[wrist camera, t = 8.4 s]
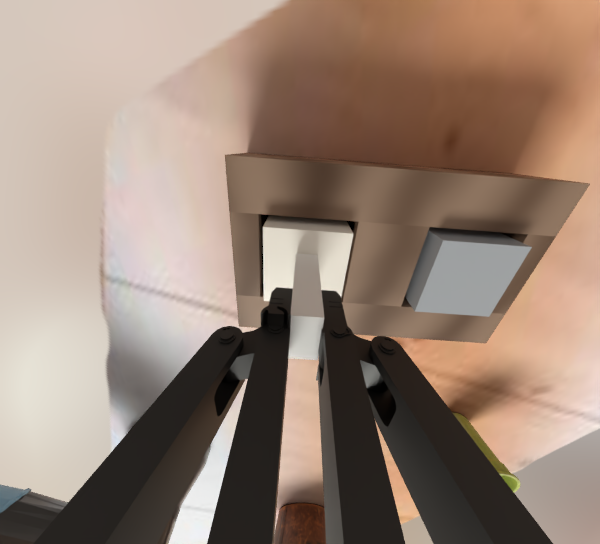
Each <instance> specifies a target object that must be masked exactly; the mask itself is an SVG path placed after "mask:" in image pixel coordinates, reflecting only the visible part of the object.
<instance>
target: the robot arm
mask: <svg viewBox="0 0 600 544" xmlns="http://www.w3.org/2000/svg"><path fill="white" fill-rule="evenodd" d="M318 355H319V365H318V372H317V378H316V380H318V385H319V406H320V426H321V447H322V467H323V488H324V509H325V529H326V544H405V541H404V537H403V532H402V529H401V524H400V520H399V516H398V512H397V508H396V504H395V500H394V496H393V492H392V488H391V484H390V480H389V476H388V472H387V468H386V464H385V460H384V456H383V452H382V448H381V444H380V440H379V436H378V432H377V428H376V423H377V425H378V427H379V429H380V431H381V433H382V435H383V437H384V440H385V442H386V444H387V446H388V448H389V450H390V452H391V454H392V456H393V459H394V461H395V463H396V465H397V467H398V469H399V471H400V473H401V476H402V478H403V480H404V482H405V484H406V486H407V488H408V490H409V492H410V495H411V497H412V499H413V501H414V503H415V505H416V507H417V509H418V512H419V514H420V516H421V518H422V520H423V522H424V524H425V526H426V528H427V531H428V533H429V535H430V537H431V539H432V541H433V543H434V544H553V543H552V542H551V541H550V539H549V538H548V537H547V535H546V534H545V533H544V531H543V530H542V529H541V527H540V526H539V525H538V524H537V522H536V521H535V520H534V518H533V517H532V516H531V514H530V513H529V512H528V511H527V509H526V508H525V507H524V505H523V504H522V503H521V501H520V500H519V499H518V498H517V496H516V495H515V494H514V492H513V491H512V490H511V488H510V487H509V486H508V485H507V483H506V482H505V481H504V479H503V478H502V477H501V475H500V474H499V473H498V472H497V470H496V469H495V468H494V466H493V465H492V464H491V462H490V461H489V460H488V459H487V457H486V456H485V455H484V453H483V452H482V451H481V449H480V448H479V447H478V446H477V444H476V443H475V442H474V440H473V439H472V438H471V436H470V435H469V434H468V433H467V431H466V430H465V429H464V427H463V426H462V425H461V423H460V422H459V421H458V420H457V418H456V417H455V416H454V414H453V413H452V412H451V410H450V409H449V408H448V407H447V405H446V404H445V403H444V401H443V400H442V399H441V397H440V396H439V395H438V394H437V392H436V391H435V390H434V388H433V387H432V386H431V384H430V383H429V382H428V381H427V379H426V378H425V377H424V375H423V374H422V373H421V371H420V370H419V369H418V368H417V366H416V365H415V364H414V362H413V361H412V360H411V358H410V357H409V356H408V355H407V353H406V352H405V351H404V349H403V348H402V347H401V345H400V344H398V343H397V342H396V341H395V340H393V339H391V338H389V337H386V336H377V337H374V339H373V340H372V341H368V340H365V339H362V338H360V337H357V336H356V335H354V334H353V332H352V330H351V329H350V328H349V327H348V326H347V322H346V318H345V313H344V309H343V305H342V300H341V296H340V295H339V294H338V293H337V292H336V291H329V290H321V281H320V272H319V262H318V255H313V254H299V253H296V261H295V271H294V282H293V288H279V287H276V288H275V289H274V290H273V291H272V293H271V297H270V301H269V305H268V306H267V307H265V308H264V309H263V310H262V311H261V327H260V328H258V329H256V330H254V331H250V332H244V333H242V331H241V330H240V329H239V328H236V327H232V326H227V327H222V328H220V329H218V330H216V331H215V332H214V333H213V334H212V335H211V336H210V337H209V339H208V340H207V341H206V342H205V343H204V344H203V346H202V347H201V348H200V349H199V350H198V352H197V353H196V354H195V355H194V356H193V357H192V359H191V360H190V361H189V362H188V363H187V364H186V366H185V367H184V368H183V369H182V370H181V371H180V373H179V374H178V375H177V376H176V377H175V378H174V380H173V381H172V382H171V383H170V384H169V385H168V387H167V388H166V389H165V390H164V391H163V392H162V394H161V395H160V396H159V397H158V398H157V400H156V401H155V402H154V403H153V404H152V405H151V407H150V408H149V409H148V410H147V411H146V412H145V414H144V415H143V416H142V417H141V418H140V419H139V421H138V422H137V423H136V424H135V425H134V426H133V428H132V429H131V430H130V431H129V432H128V433H127V435H126V436H125V437H124V438H123V439H122V440H121V442H120V443H119V444H118V445H117V446H116V447H115V449H114V450H113V451H112V452H111V453H110V455H109V456H108V457H107V458H106V459H105V460H104V462H103V463H102V464H101V465H100V466H99V468H98V469H97V470H96V471H95V472H94V473H93V474H92V476H91V477H90V478H89V479H88V480H87V481H86V483H85V484H84V485H83V486H82V487H81V488H80V490H79V491H78V492H77V493H76V494H75V496H74V497H73V498H72V499H71V500H70V501H69V503H68V502H65V501H61V500H58V499H54V498H51V497H48V496H44V495H41V494H37V493H33V492H30V491H31V489H29V488H28V489H25V490H23V489H18V488H13V487H9V486H4V485H0V544H168V543H169V540H170V537H171V534H172V531H173V528H174V525H175V522H176V519H177V516H178V514H179V511H180V508H181V505H182V503H183V501H184V499H185V498H186V496H187V495H188V493H189V491H190V490H191V488H192V486H193V485H194V483H195V481H196V480H197V478H198V476H199V475H200V473H201V471H202V470H203V468H204V466H205V464H206V461H207V458H208V455H209V452H210V444H211V442H212V440H213V438H214V437H215V435H216V433H217V431H218V429H219V427H220V426H221V424H222V422H223V420H224V418H225V416H226V414H227V413H228V411H229V409H230V407H231V405H232V403H233V401H234V400H235V398H236V396H237V394H238V392H239V390H240V388H241V387H242V385H243V383H244V381H245V379H248V381H247V385H246V389H245V393H244V397H243V401H242V405H241V409H240V413H239V417H238V422H237V426H236V430H235V434H234V438H233V442H232V446H231V450H230V454H229V458H228V462H227V466H226V470H225V474H224V478H223V482H222V486H221V490H220V494H219V498H218V502H217V506H216V510H215V514H214V518H213V522H212V527H211V531H210V535H209V539H208V543H207V544H273V543H274V531H275V518H276V506H277V494H278V481H279V469H280V457H281V444H282V432H283V419H284V407H285V395H286V382H287V370H288V358H293V359H308V360H318ZM374 418H375V419H374ZM375 421H376V423H375Z"/></svg>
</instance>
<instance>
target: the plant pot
mask: <svg viewBox="0 0 600 544" xmlns="http://www.w3.org/2000/svg"><path fill="white" fill-rule="evenodd" d="M453 414H454V416H455V417H456V418H457V420H458V421H459V422H460V423H461V425H462V426H463V427H464V429H465V430H466V431H467V433H468V434H469V435H470V436H471V438H472V439H473V440H474V442H475V443H476V444H477V446H478V447H479V448H480V449H481V451H482V452H483V453H484V455H485V456H486V457H487V459H488V460H489V461H490V462H491V464H492V465H493V466H494V468H495V469H496V470H497V472H498V473H499V474H500V475H501V477H502V478H503V479H504V481H505V482H506V483H507V485H508V486H509V487H510V488H511V490H512V491H513V492H516V491H517V490H518V489H519V487H520V481H519V479H518V478H517V477H516V476H515V475H513V474H511V473H510V472H509V470H508V469H507V468H506V467H505V465H504V464H502V463H501V462H500V461H499V460H498V459H497V457H496V456H495V455H494V453H493V452H492V451H491V450H490V448H489V447H488V446H487V444H486V443H485V442H484V441H483V439H482V438H481V437H480V435H479V434H478V433H477V431H476V430H475V429H474V427H473V426H472V425H471V423H470V422H469V421H468V420H467V418H466V417H464V416H462V415H461V414H459V413H453Z"/></svg>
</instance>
